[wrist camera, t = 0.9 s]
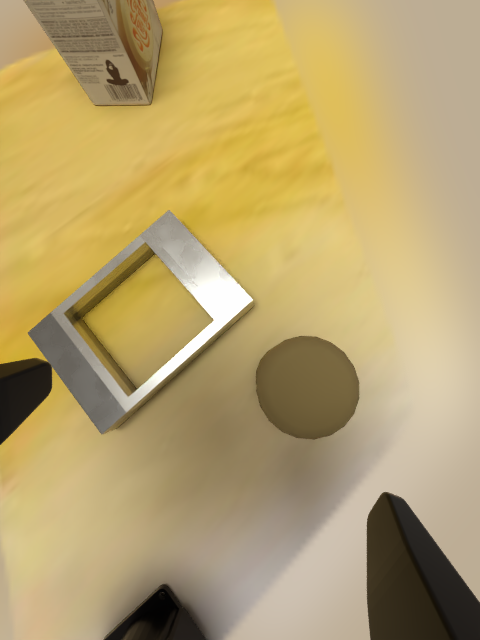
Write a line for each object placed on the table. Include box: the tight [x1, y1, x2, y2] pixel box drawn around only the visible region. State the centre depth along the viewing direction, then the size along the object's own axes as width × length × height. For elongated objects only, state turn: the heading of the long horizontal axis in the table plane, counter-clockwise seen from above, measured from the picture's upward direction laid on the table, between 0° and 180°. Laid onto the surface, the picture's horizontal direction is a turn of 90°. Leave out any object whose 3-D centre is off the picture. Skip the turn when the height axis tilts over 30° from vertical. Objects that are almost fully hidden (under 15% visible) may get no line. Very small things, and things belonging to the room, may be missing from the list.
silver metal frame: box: [28, 210, 254, 434], centre depth 26 cm, size 16×11×2 cm
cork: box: [256, 336, 359, 439], centre depth 19 cm, size 6×6×11 cm
